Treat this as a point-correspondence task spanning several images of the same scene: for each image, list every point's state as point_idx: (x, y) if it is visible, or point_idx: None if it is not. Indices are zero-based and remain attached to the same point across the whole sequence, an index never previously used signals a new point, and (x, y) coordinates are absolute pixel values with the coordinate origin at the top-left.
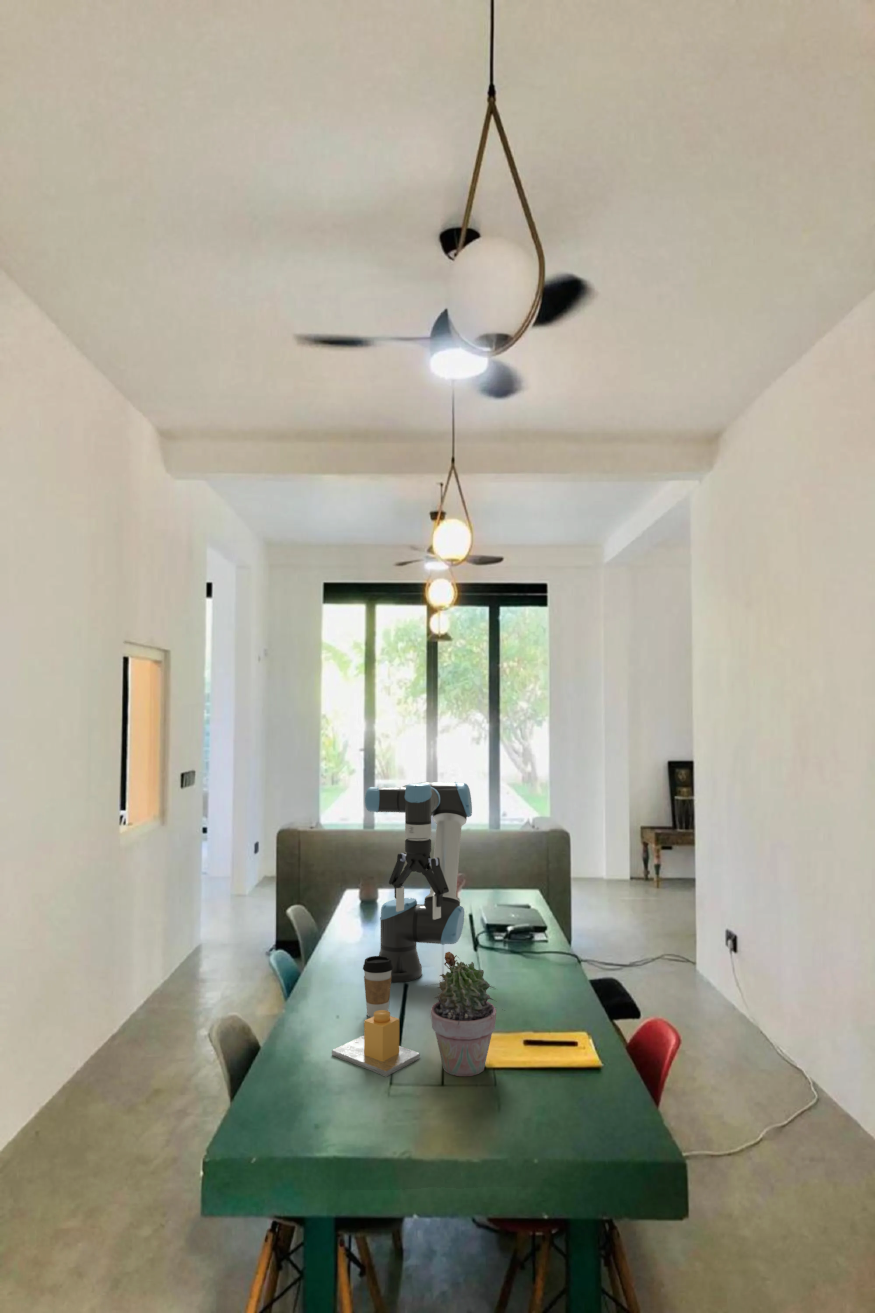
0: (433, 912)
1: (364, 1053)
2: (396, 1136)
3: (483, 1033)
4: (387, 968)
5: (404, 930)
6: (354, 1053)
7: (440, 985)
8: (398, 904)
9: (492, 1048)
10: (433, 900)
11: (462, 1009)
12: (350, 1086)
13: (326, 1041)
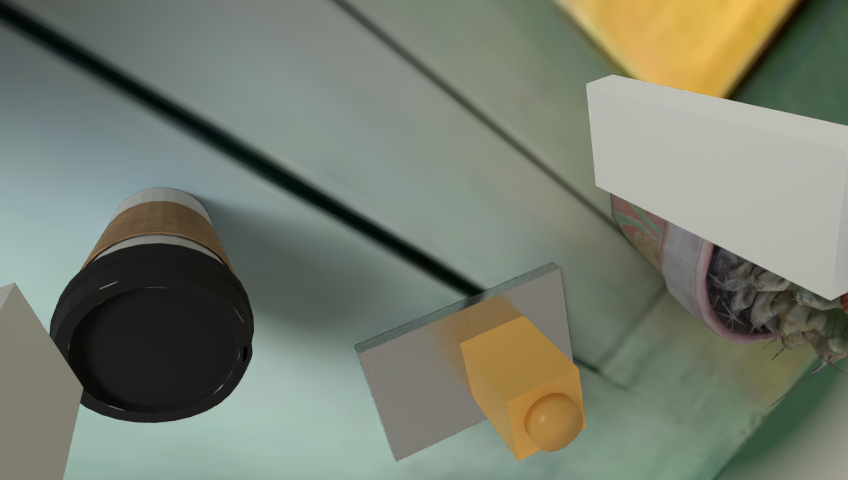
0: (654, 206)
1: (475, 399)
2: (720, 418)
3: None
4: (249, 310)
5: None
6: (451, 417)
7: (822, 358)
8: (64, 446)
9: (646, 40)
10: (772, 261)
11: None
12: None
13: (298, 448)
